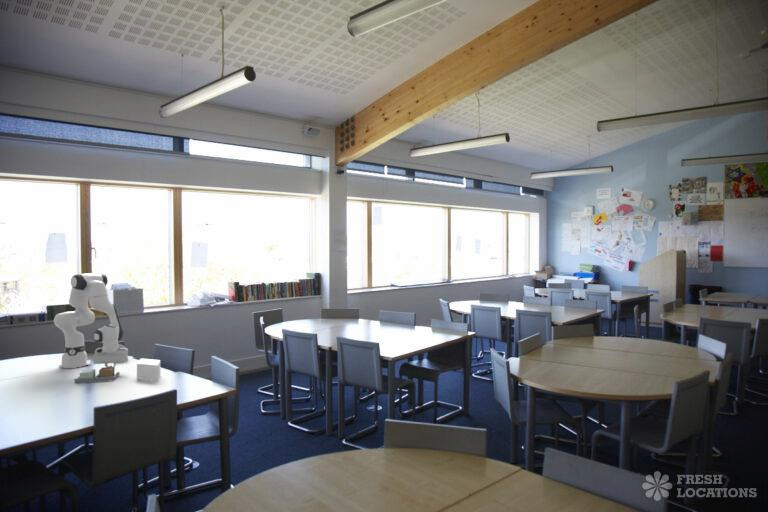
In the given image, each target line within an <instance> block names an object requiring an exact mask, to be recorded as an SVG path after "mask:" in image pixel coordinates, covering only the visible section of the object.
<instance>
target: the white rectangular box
mask: <svg viewBox="0 0 768 512" xmlns="http://www.w3.org/2000/svg"><path fill="white" fill-rule="evenodd" d="M159 376H160V377H161V360H160V359H152V358H151V359H150V358H143V357H142V358H140V359H139V360H138V361H137V363H136V380H137V379H141V380H140V381H146V380H152V381H151V382H156V381H158V382H159V380H158V379H160V377H159Z"/></svg>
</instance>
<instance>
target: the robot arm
mask: <svg viewBox="0 0 768 512" xmlns="http://www.w3.org/2000/svg"><path fill="white" fill-rule="evenodd" d="M70 285H71V290H70V295H69V299H68V303H69V306H71V307H73V308H74V309H75V310H73V311H72V310H71V311H64V312H60V313H56V315H54V319H53V323H54V326H55V327H57V328H58V329H60V330H61V332H62V333H63V335H64V340H65V341H64V342H65V347H64V349H63V350H64V353H63V354H62V356H61V364H60V365H59V366H58V367H59V368H62V367H63V368H62V369H76V368H77V367H78V368H83V367H87V366H86V365H88V366H91V363H93V364H94V365H100V364H102V365H103V364H104V366H105V367H109V366H108V364H113V365H112V367H116V365H117V364H118V363H120V364H121V363H127V362H128V361H129V356H128V351H129V349H128V348H127V347H126V348H127V350H126V348H118V344H119V341H121V340H122V339H123V337H124V335H125V331H124V329H123V327H122V325H121V322H120V319H119V316H118V312H117V309H116V306H115V304H113V303H111V301H110V299H109V294H108V290H107V285H108V277H107V275H106V274H105V273H102V272H98V273H95V272H90V273H89V272H88V273H81V274H80V273H79V274H78V273H77V274H75V275H73V276H72V277H71V279H70ZM89 305H90V307H91V308H92V309H93V310H96V311H98V312H101V313H105V314H106V315H107V316H108V319H109V322H110V323H106V324H104V326H103V327H100V328H97V329H96V330H95V331H93V334H92V338H93V341H94V342H96V343H98V344H102V346H101V347H97V348H96V349H95V350H94V353H93V356H92V357H93V358H92V360H91V359H89V358H88V354H87V352H86V344H85V335H84V334H83V332H80V331H79V330H78V329H77V327H83V326H89V325H91V324H93V323H94V321H95V319H96V315H95V312H94V311H92V310H91V309H90V308H89ZM91 361H92V362H91ZM90 362H91V363H90ZM82 366H83V367H82Z"/></svg>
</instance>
